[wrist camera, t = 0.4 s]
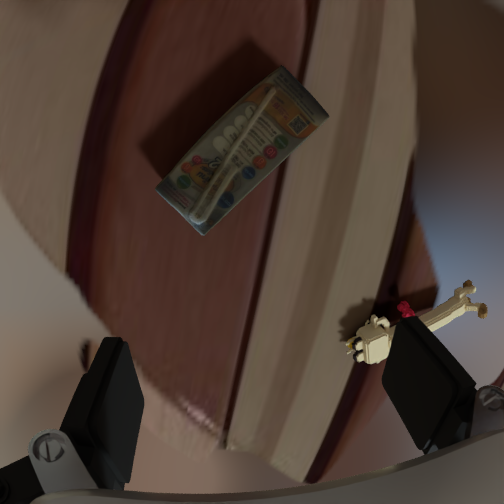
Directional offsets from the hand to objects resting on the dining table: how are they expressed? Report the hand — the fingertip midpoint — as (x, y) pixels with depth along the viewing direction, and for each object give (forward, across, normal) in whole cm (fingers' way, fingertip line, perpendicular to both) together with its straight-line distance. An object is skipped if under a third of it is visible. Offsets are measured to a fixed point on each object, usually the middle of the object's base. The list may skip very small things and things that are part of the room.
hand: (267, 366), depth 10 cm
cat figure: (+31, -28, +20) cm, 47 cm away
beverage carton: (+31, -1, -5) cm, 32 cm away
